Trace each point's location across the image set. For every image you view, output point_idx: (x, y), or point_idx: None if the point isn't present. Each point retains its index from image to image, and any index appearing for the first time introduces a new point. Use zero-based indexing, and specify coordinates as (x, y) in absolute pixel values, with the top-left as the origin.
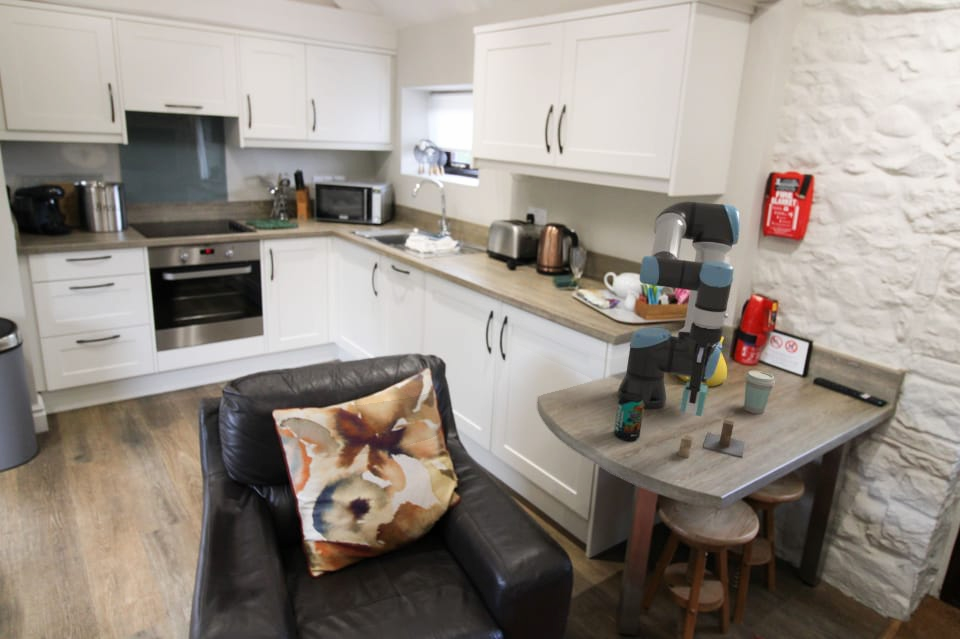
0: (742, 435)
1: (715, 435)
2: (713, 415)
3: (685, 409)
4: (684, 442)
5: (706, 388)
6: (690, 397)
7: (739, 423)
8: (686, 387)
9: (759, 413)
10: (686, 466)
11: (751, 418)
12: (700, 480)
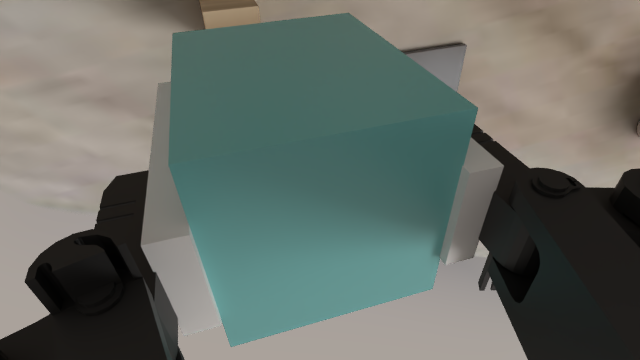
0: (489, 135)
1: (452, 75)
2: (617, 21)
3: (158, 95)
4: (205, 27)
5: (358, 307)
6: (100, 225)
7: (568, 107)
8: (25, 279)
9: (637, 132)
10: (118, 52)
11: (606, 123)
12: (49, 130)
